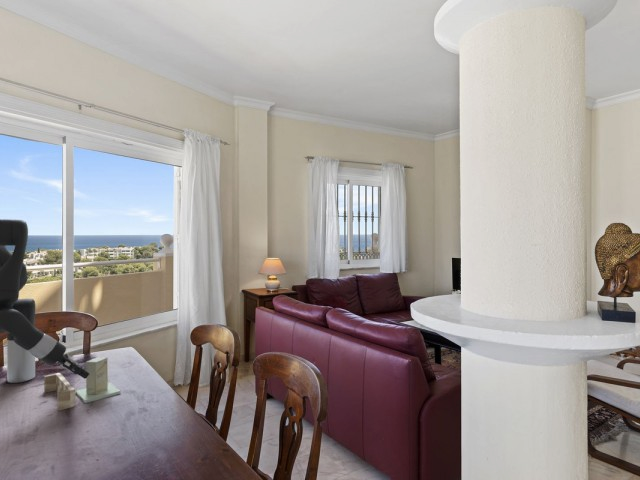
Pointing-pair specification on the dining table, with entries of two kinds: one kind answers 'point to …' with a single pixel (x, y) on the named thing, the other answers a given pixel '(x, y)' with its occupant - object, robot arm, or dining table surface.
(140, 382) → the dining table surface
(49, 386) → the beige long angular piece
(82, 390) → the sage tile
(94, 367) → the skincare box
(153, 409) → the dining table surface
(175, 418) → the dining table surface
